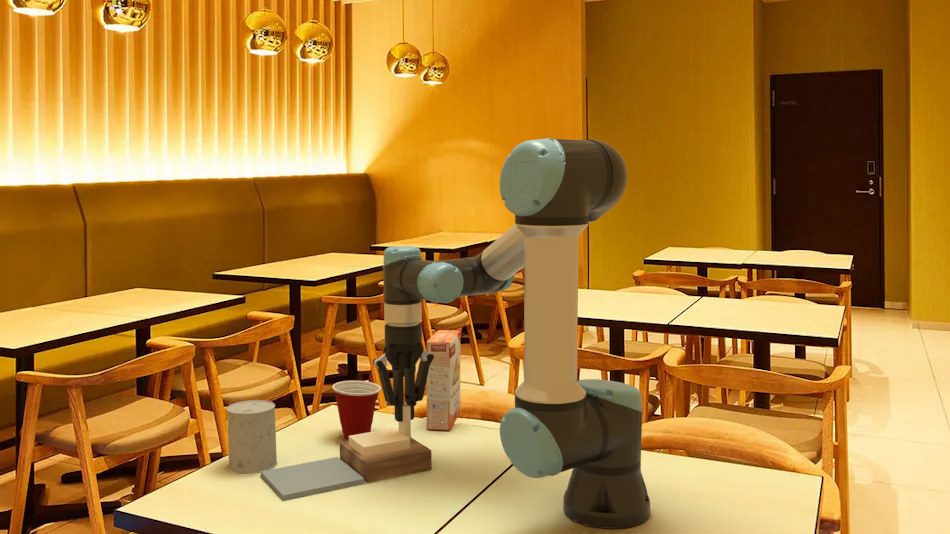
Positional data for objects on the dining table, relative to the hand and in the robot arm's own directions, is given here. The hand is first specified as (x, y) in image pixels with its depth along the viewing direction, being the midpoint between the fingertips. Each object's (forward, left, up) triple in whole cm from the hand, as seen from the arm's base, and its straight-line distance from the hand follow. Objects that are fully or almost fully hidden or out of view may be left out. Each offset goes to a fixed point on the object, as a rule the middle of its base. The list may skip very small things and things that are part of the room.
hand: (404, 435), depth 176 cm
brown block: (0, +5, -5) cm, 7 cm away
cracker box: (+19, -19, -6) cm, 28 cm away
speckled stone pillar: (+14, +28, -6) cm, 31 cm away
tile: (0, +6, -1) cm, 6 cm away
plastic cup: (+19, +3, -6) cm, 20 cm away
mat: (0, +20, -5) cm, 21 cm away
